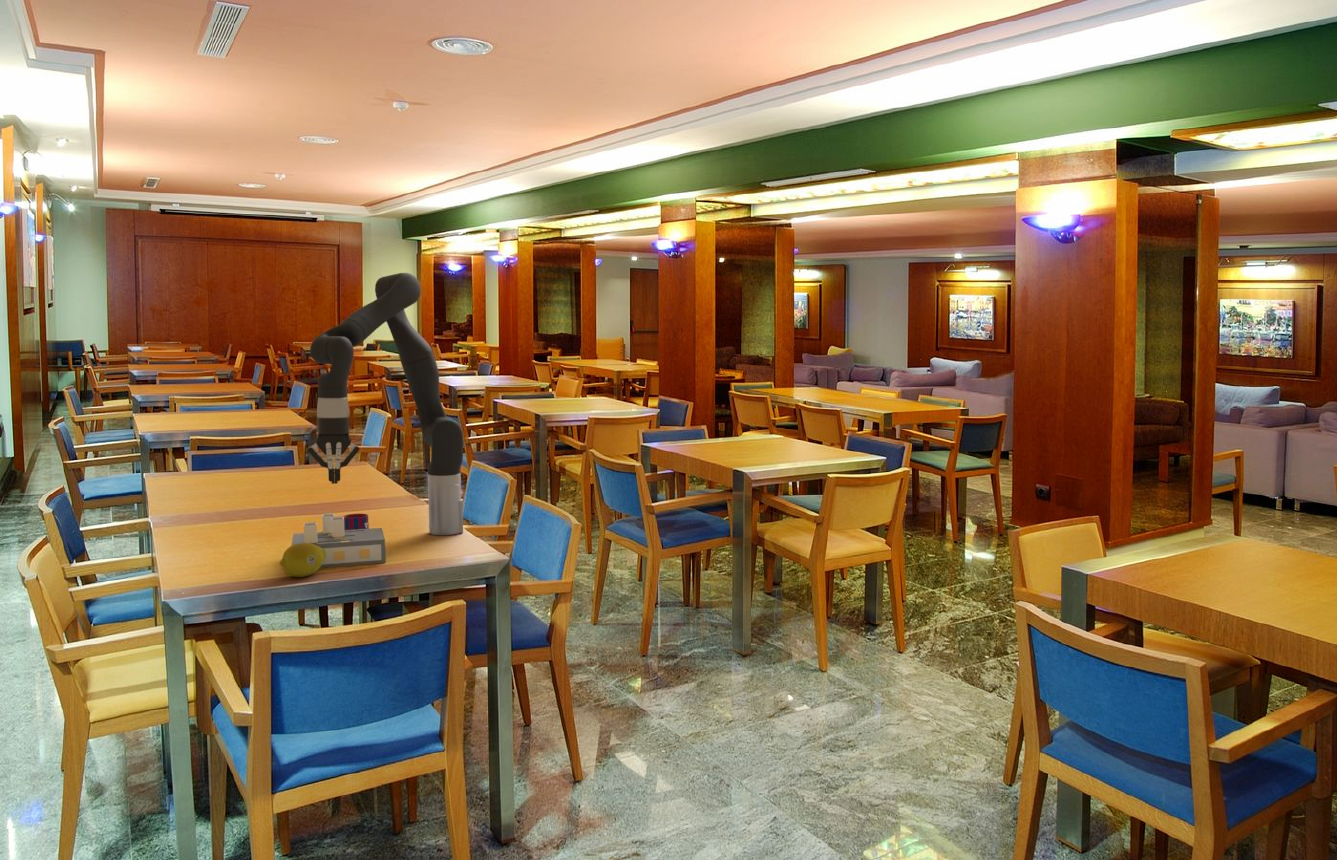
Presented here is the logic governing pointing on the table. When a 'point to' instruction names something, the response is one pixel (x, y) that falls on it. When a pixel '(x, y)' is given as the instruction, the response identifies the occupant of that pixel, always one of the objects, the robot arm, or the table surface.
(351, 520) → the mug
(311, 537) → the slider near
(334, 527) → the slider mid
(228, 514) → the table surface
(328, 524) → the slider far
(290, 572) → the lemon
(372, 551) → the console
